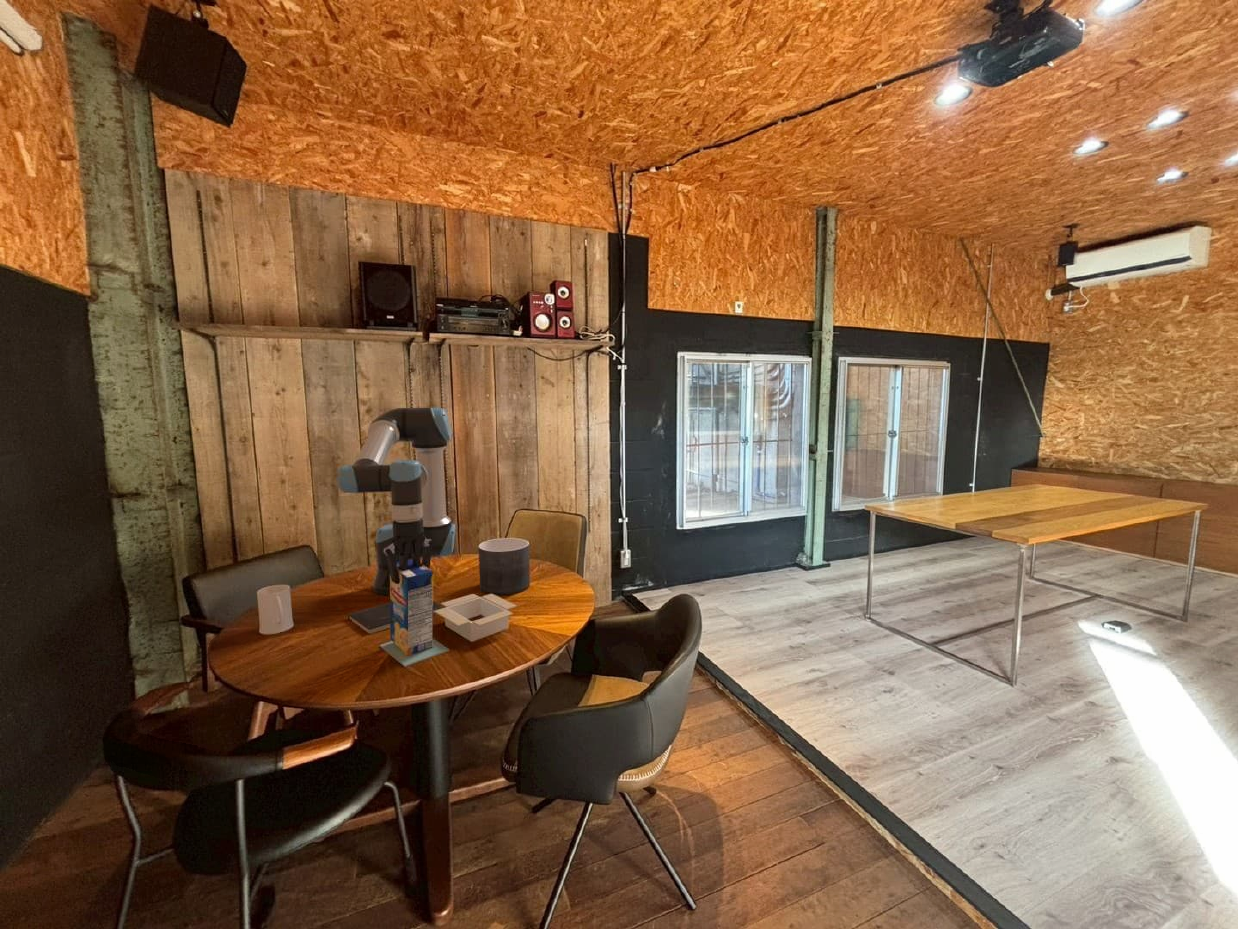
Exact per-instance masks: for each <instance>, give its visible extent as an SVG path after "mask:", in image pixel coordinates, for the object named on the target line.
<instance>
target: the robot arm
mask: <svg viewBox="0 0 1238 929" xmlns="http://www.w3.org/2000/svg"><path fill="white" fill-rule="evenodd" d="M450 424H451V423H450V420H449V415H448V412H447V411H446V410H445V409H444V408H441V407H397V408H393V409H391V410H388V411H385V412H383V413H381V414H380V415H379V416H377V417H375V419H373V421H372V422H371V423H370V425H369V426H368V429H367V438H366V440H365V442H364V444H363V446H362V448H361V450H360V452H359V454H358V456H357V458H356V460H355V462H354V463H353V465H352V464H349V465H343V466H340V468H339V470H338V473H337V484H338V488H339V490H340V491H341V492H342V493H343V494H364V493H386V492H387V493H390V496H391V497H390V498H391V519H393V521H392V522H391V523H389V524H386V525H385V524H384V525H382V526H380V527H379V528H378V529H377V530H376V532H375V535H376V536H375V544H376V546H375V547H376V559H377V560H376V561H377V570H376V574H375V578H374V581H373V592H374V594H378V595H382V596H383V595H384V596H390V576H391V580H392V582H394V583H396V584H399V583H400V579H399V575H398V570H397V565H396V563H398V562H399V568H400V569H401V570H407V566H408V560H411V559H412V562H413V565H414V566H416V567H420V566H421V563H422V564H423V565H425V566H426V567H427V568H429V569H430V567H431V561H432V559H431V558H444V557H449V556H451V555H452V554H453V551H454V545H455V536H456V523H452V519H451V518H450V517H449V516H448V515H447V506H446V505H447V502H446V501H447V500H446V484H445V467H444V450H445V449H446V448H448V442H450V441H452V430H451V425H450ZM402 442H403V443H404V442H405V443H411V448H412V449H413V450H415V452H416V455H417V456H416V458H417V460H415V459H402V460H401V459H399V460H393V461H392V462H390V464H386V462H387V460H388V457H389V454H390V452H391V450H392V449H393V446H395V445H396V444H397V443H402ZM430 570H431V569H430Z"/></svg>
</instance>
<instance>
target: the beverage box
mask: <svg viewBox="0 0 1238 929" xmlns="http://www.w3.org/2000/svg"><path fill="white" fill-rule="evenodd" d="M396 565H397V570H398V575H399V579H400V583H399V584H396V583H394V582H392V580H391V576H390V595H389V596H390V597H389V600H390V601H389V603H390V627H391V628H390V640H391V641H393V642H394V643H395V644H396V645H397V646H398V647H399V648H400V649H401V650H402V651H403V652H404V653H405V654H406V655H407V656H410V655H413V654H416V653H419V652H422V651H424V650H427V649H430V648H433V639H434V638H433V635H434V634H433V632H434V630H433V629H434V628H433V627H434V626H433V625H434V622H433V621H434V614H433V601H434V571H433V570H432V569H429V568H427V567H426V566H425V565H423V564H422V562H421V566H420V567H416V566H414V565H413V562H412V559H411V560H408V566H407V570H401V569H400V568H399V562H398V563H396Z"/></svg>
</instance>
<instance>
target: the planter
mask: <svg viewBox="0 0 1238 929" xmlns="http://www.w3.org/2000/svg"><path fill="white" fill-rule="evenodd" d="M478 565H479V568H478V570H479V590H480V591H481V592H482V593H484V594H486V595H489V594H493V595H496V596H508V595H514V594H518V593H521V592H523V591H525V590H527V589H528V588H530V585H531V582H530V574H531V573H530V571H531V570H530V542H529V541H528V540H526V539H522V538H516V537H502V538H494V539H489V540H486V541H483V542H481V543H479V545H478Z"/></svg>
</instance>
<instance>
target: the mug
mask: <svg viewBox="0 0 1238 929" xmlns="http://www.w3.org/2000/svg"><path fill="white" fill-rule="evenodd" d="M256 595H257V606H258V608H257V609H258V618H259V621H258V622H259V630H258V631H259V634H262V635H276V634H280V632H281V633H284V632H286V631H289V630H291V629H292V628H294V626H295V625H294V624H295V623H294V620H293V611H292V610H293V608H292V598H291V597H292V596H291V586H290V585H288V584H274V585H269V586H265V587H262V588H260V589H258V590H257V591H256Z"/></svg>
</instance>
